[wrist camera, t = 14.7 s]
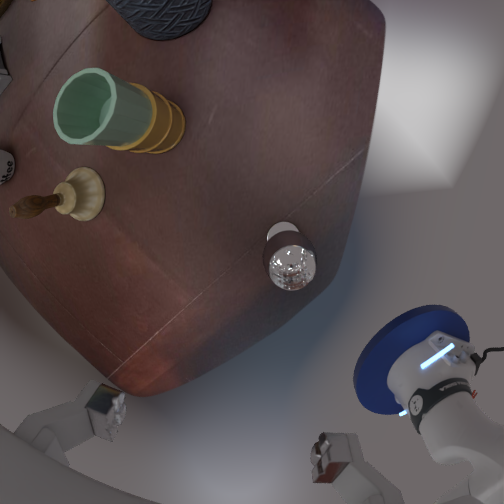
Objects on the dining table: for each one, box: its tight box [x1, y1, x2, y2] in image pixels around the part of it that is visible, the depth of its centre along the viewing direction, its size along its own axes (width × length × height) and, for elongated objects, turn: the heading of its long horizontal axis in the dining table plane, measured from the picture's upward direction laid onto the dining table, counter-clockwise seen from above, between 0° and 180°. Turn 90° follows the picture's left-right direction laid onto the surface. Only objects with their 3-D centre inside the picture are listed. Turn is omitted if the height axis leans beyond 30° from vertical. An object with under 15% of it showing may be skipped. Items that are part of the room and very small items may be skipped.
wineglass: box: [262, 222, 317, 290], centre depth 34 cm, size 6×6×12 cm
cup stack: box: [107, 83, 186, 154], centre depth 30 cm, size 8×8×11 cm
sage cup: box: [53, 68, 153, 147], centre depth 21 cm, size 6×6×8 cm
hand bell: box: [9, 167, 105, 221], centre depth 31 cm, size 8×8×16 cm
